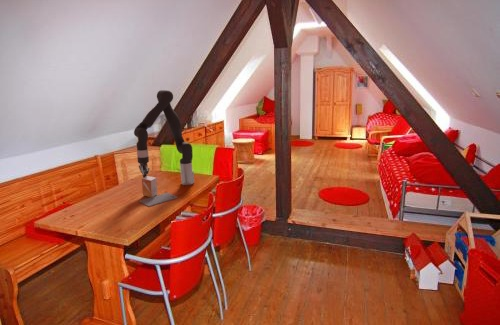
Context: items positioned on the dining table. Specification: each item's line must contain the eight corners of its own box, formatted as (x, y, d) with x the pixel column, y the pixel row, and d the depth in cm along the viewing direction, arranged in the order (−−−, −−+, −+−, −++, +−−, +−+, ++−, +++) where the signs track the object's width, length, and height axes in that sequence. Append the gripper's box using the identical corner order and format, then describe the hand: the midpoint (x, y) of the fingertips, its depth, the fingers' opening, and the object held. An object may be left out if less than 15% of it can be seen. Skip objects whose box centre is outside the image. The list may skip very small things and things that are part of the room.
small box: (142, 195, 217) (141, 178, 214) (148, 192, 223) (147, 175, 219) (151, 197, 215) (150, 180, 211) (157, 194, 220) (156, 177, 216)
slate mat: (167, 193, 223) (167, 192, 222) (178, 197, 213) (178, 197, 213) (139, 201, 208) (138, 200, 208) (148, 206, 198) (148, 206, 198)
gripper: (152, 156, 213) (154, 180, 218) (143, 153, 223) (145, 176, 227) (142, 158, 208) (144, 182, 213) (133, 155, 218) (136, 178, 222)
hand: (145, 179), depth 220 cm, fingers closed
